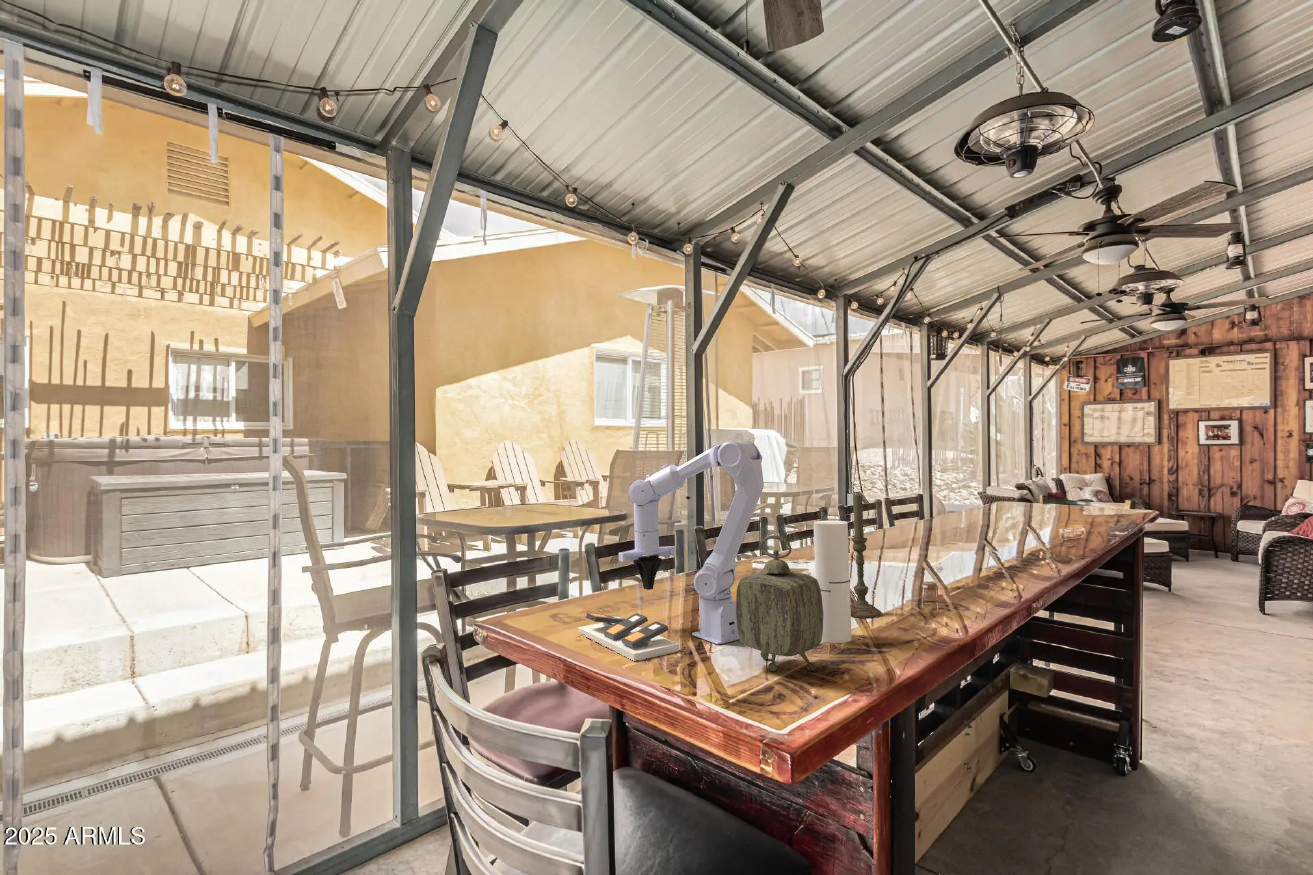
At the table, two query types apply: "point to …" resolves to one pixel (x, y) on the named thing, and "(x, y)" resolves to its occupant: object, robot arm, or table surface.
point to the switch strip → (640, 652)
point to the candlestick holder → (860, 565)
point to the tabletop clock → (779, 610)
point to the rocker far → (605, 618)
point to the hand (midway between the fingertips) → (648, 588)
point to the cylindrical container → (833, 579)
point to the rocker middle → (625, 626)
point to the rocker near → (644, 634)
